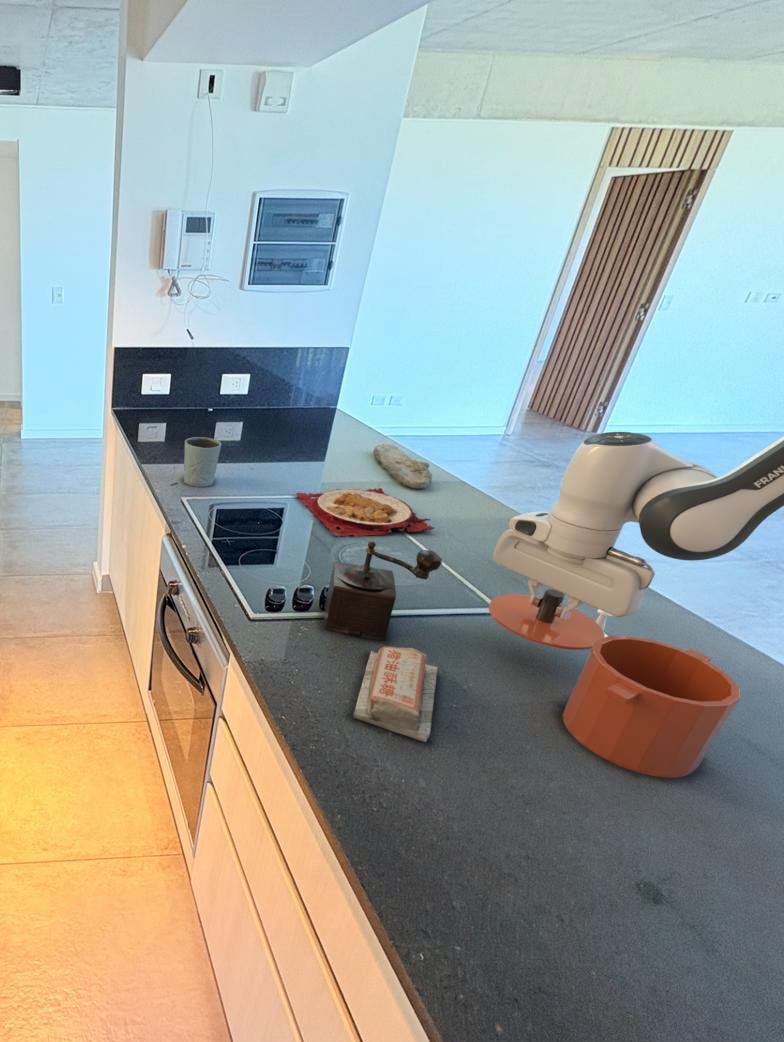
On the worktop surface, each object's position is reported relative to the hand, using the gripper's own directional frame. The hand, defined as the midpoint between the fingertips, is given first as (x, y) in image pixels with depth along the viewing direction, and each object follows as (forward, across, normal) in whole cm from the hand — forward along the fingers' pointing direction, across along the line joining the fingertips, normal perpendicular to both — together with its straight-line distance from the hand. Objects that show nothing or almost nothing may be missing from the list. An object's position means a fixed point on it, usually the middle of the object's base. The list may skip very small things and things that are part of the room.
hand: (547, 610), depth 101 cm
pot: (+9, -18, +8) cm, 22 cm away
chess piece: (+9, -2, -14) cm, 17 cm away
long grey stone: (+9, +73, -56) cm, 93 cm away
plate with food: (+9, +55, -20) cm, 59 cm away
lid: (+2, 0, 0) cm, 2 cm away
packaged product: (+9, +2, +30) cm, 31 cm away
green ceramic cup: (+9, +92, +3) cm, 92 cm away
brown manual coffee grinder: (+9, +18, +18) cm, 27 cm away
